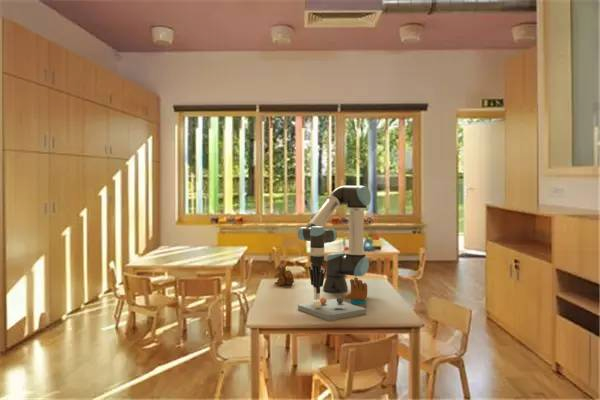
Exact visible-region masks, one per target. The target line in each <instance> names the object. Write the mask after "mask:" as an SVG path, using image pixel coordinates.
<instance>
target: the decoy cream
mask: <svg viewBox="0 0 600 400" xmlns="http://www.w3.org/2000/svg"><path fill="white" fill-rule="evenodd" d="M315 302H316V303H315V307H316V308H317V309H319V308H320V307H321V303H320V302H318V301H315Z"/></svg>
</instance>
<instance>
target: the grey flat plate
mask: <svg viewBox="0 0 600 400" xmlns="http://www.w3.org/2000/svg"><path fill="white" fill-rule="evenodd" d="M326 300H327V302H326V303H325V304H322V303H321V302H320V300H318V301H313V302H307V303H300V304H298V305H297V309H298V310H299V311H300V312H301V311H302V312H304V313H306V314H309V315H312V316H315V317H318V318H320V319H322V320H326V321H328V322H330V321H334V320H335V321H336V320H339V319H345V318H351V317H357V316H360V315H361V316H362V315H366V314H367V308H365V307H362V306H358V305H357V304H352V303H349V302H345V301H343V302H342V303H341V304H339V303H338V302H337V298H331V299H326ZM316 302H320V303H321V307H320V308H319V309H317V308H316V307H315V303H316Z"/></svg>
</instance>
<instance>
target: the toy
mask: <svg viewBox="0 0 600 400" xmlns="http://www.w3.org/2000/svg"><path fill="white" fill-rule="evenodd" d="M349 283H350V292H349V293H347V294H346V295H344V301H348V300H350V304H352V305H366V300H367V297H368V284H367V282H363V280H362V279H359V278H358V276H354V278H351V279H350V280H349Z"/></svg>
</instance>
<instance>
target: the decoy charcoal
mask: <svg viewBox="0 0 600 400" xmlns="http://www.w3.org/2000/svg"><path fill="white" fill-rule="evenodd" d="M336 300H337V302H338V303H339V304H341V303H342V302H344V298H343V297H342V296H338V297H336Z"/></svg>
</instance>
